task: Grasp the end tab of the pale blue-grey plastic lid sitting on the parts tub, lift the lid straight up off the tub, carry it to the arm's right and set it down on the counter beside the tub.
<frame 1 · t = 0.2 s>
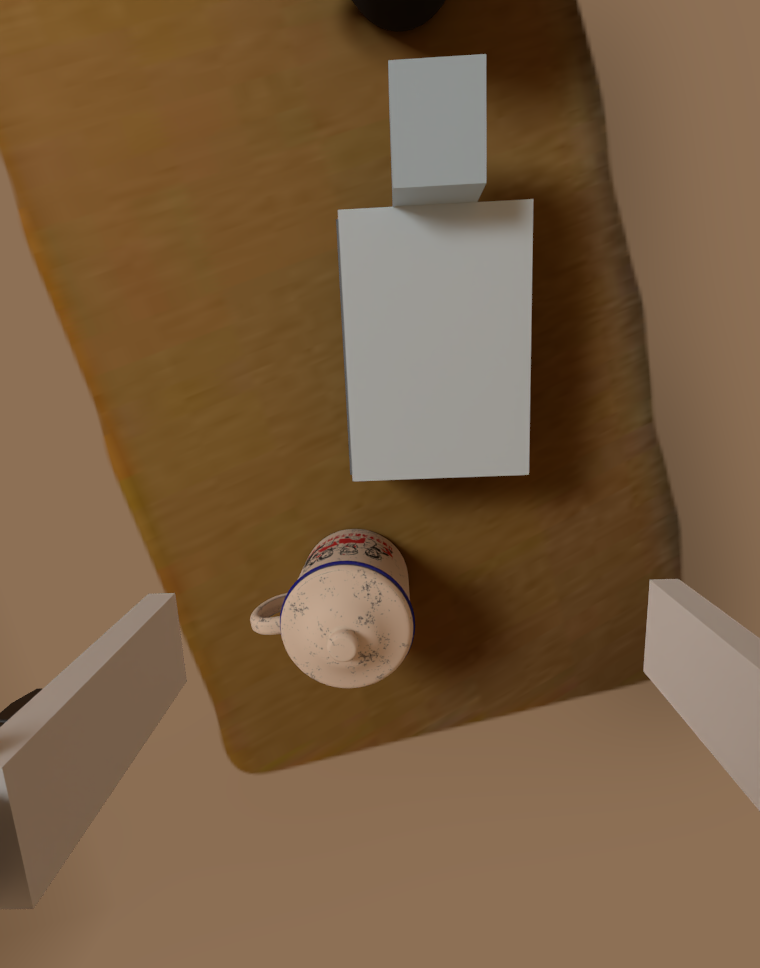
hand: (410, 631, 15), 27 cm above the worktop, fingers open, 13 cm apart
teacup with lid: (339, 578, 44), on the worktop
lid: (436, 348, 34), point 6 cm above the worktop, touching tub
tub: (430, 352, 39), on the worktop
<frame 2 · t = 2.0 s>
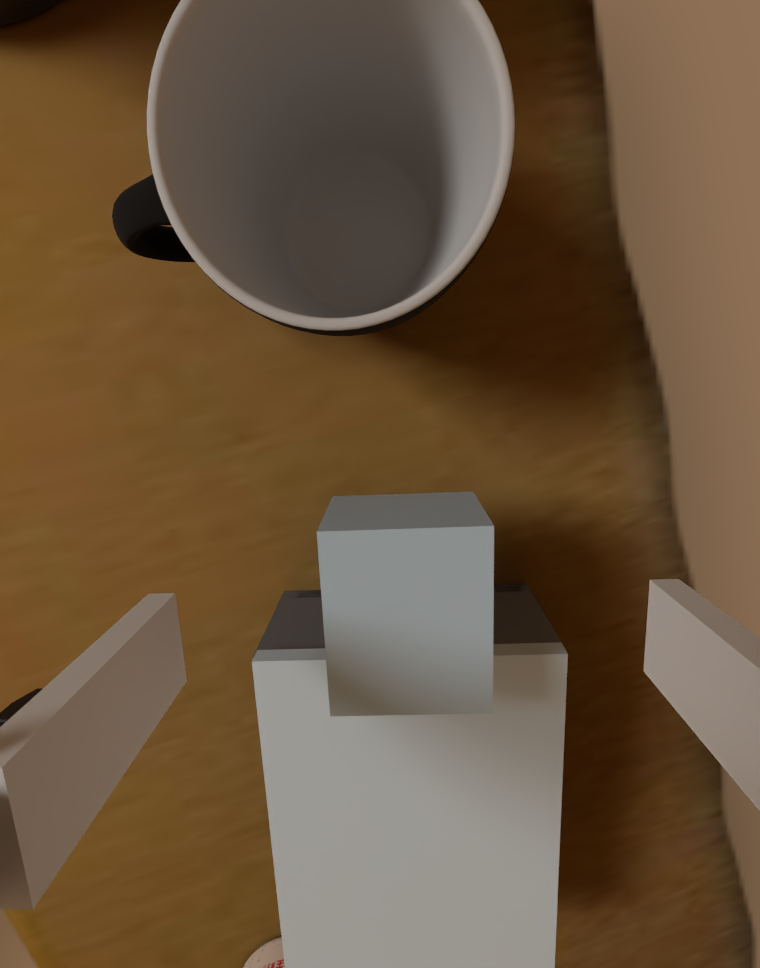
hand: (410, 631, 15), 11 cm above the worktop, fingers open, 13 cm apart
lid: (413, 825, 22), point 6 cm above the worktop, touching tub
mug: (323, 243, 23), on the worktop
tub: (409, 728, 28), on the worktop
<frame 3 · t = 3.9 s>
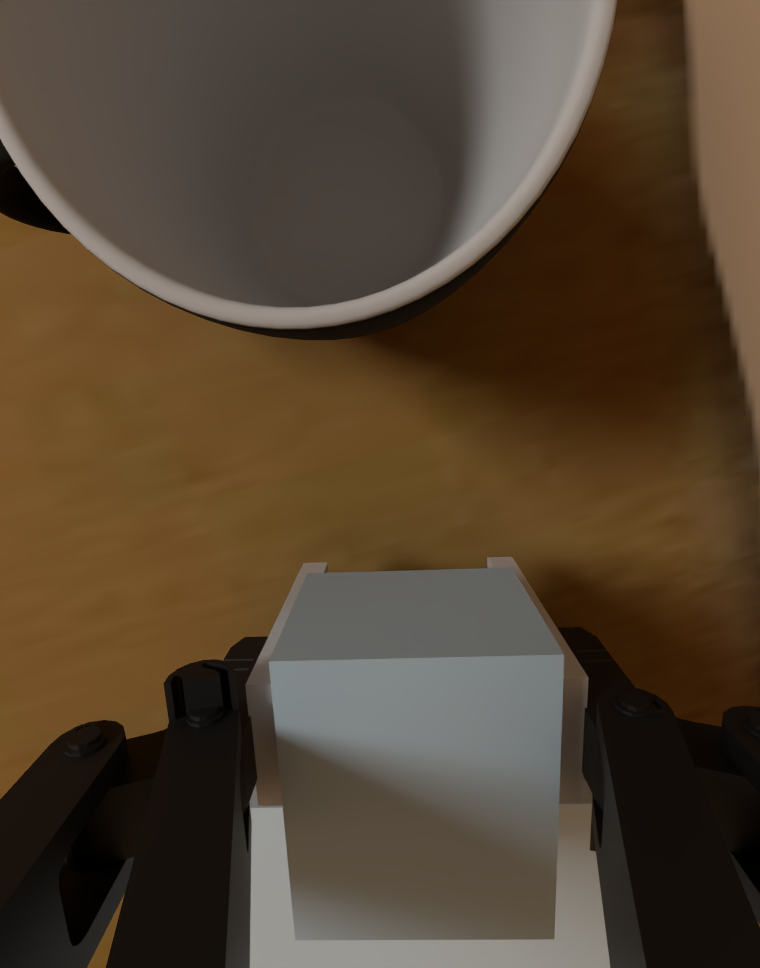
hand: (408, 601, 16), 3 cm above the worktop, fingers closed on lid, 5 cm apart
mug: (302, 219, 17), on the worktop
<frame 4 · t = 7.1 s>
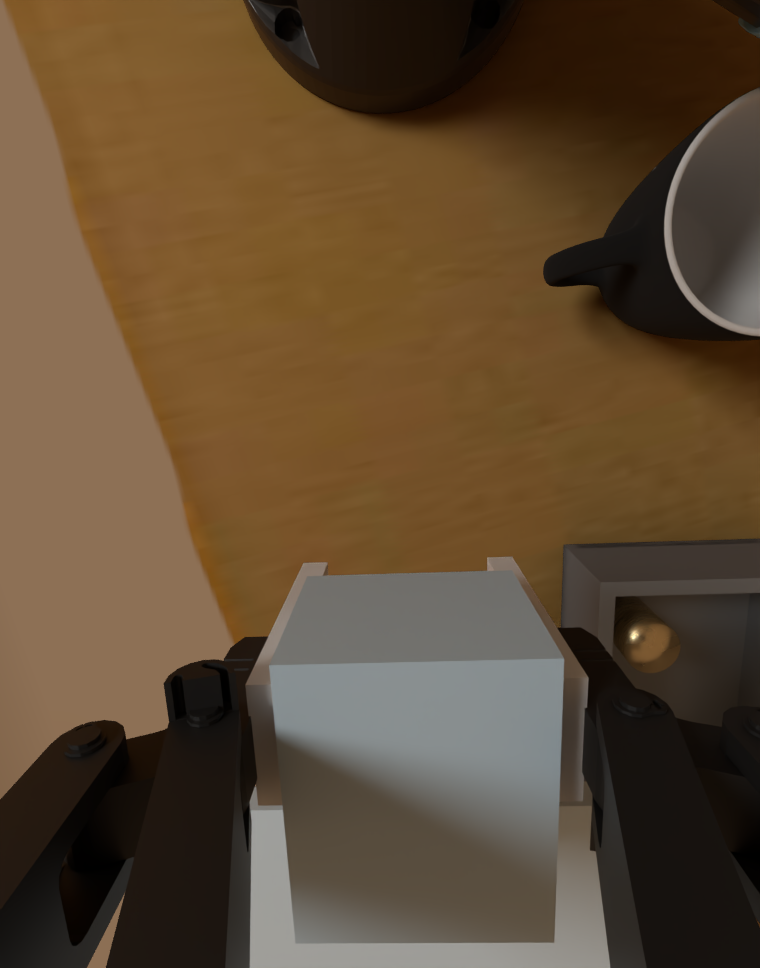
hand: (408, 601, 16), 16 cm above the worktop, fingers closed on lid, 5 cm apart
mug: (625, 271, 30), on the worktop
part a: (621, 615, 33), point 1 cm above the worktop, touching tub
tub: (652, 658, 34), on the worktop
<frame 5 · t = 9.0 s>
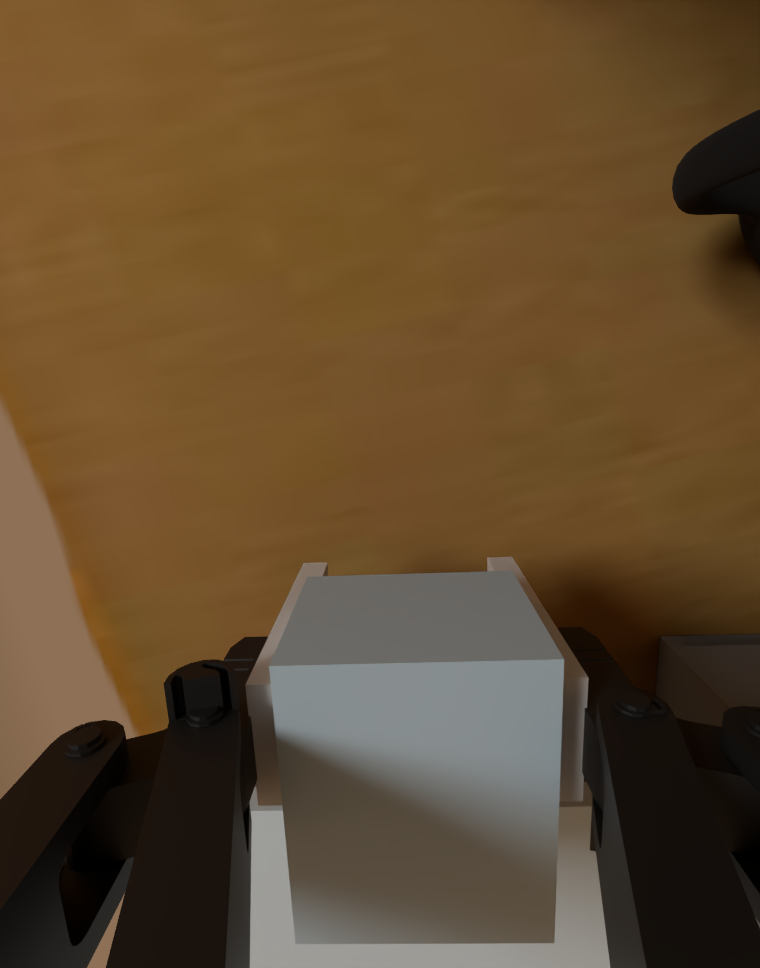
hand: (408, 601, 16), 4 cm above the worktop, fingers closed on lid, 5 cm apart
when the fingers open (2 cm above the worktop, at t = 10.3 s): lid drops 4 cm, on the worktop.
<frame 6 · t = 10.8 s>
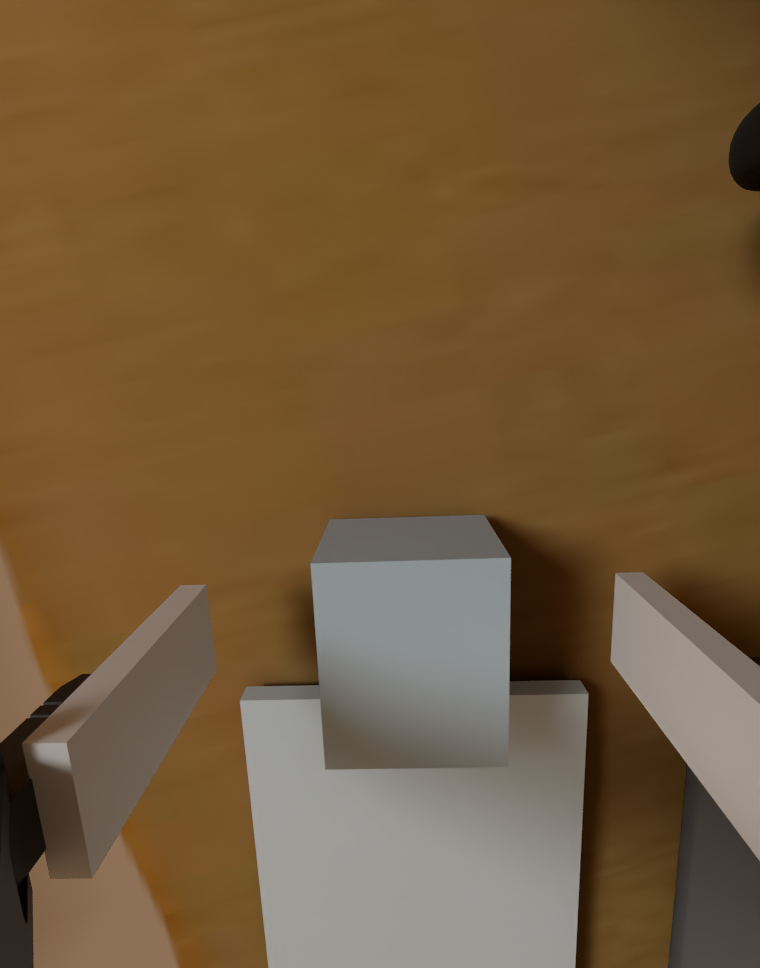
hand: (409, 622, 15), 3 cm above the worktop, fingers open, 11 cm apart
lid: (417, 878, 20), on the worktop
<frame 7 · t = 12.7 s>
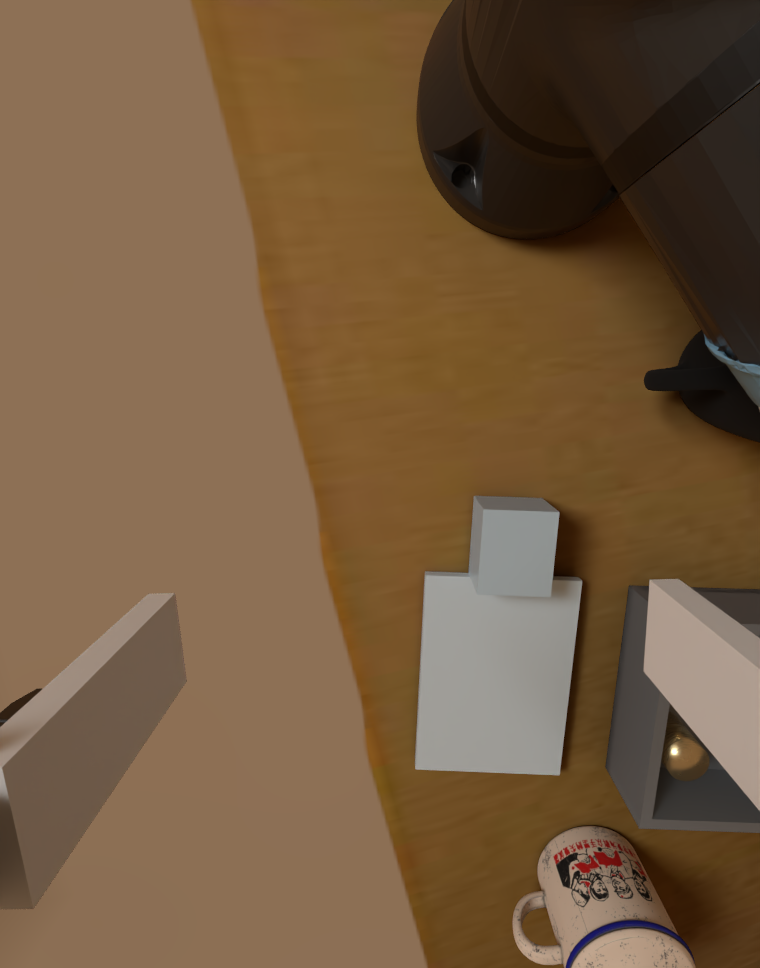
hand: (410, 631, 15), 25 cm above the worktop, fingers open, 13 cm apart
teacup with lid: (568, 864, 46), on the worktop
part b: (660, 726, 42), point 1 cm above the worktop, touching tub
lid: (493, 673, 41), on the worktop
mug: (697, 373, 37), on the worktop
tub: (692, 682, 42), on the worktop
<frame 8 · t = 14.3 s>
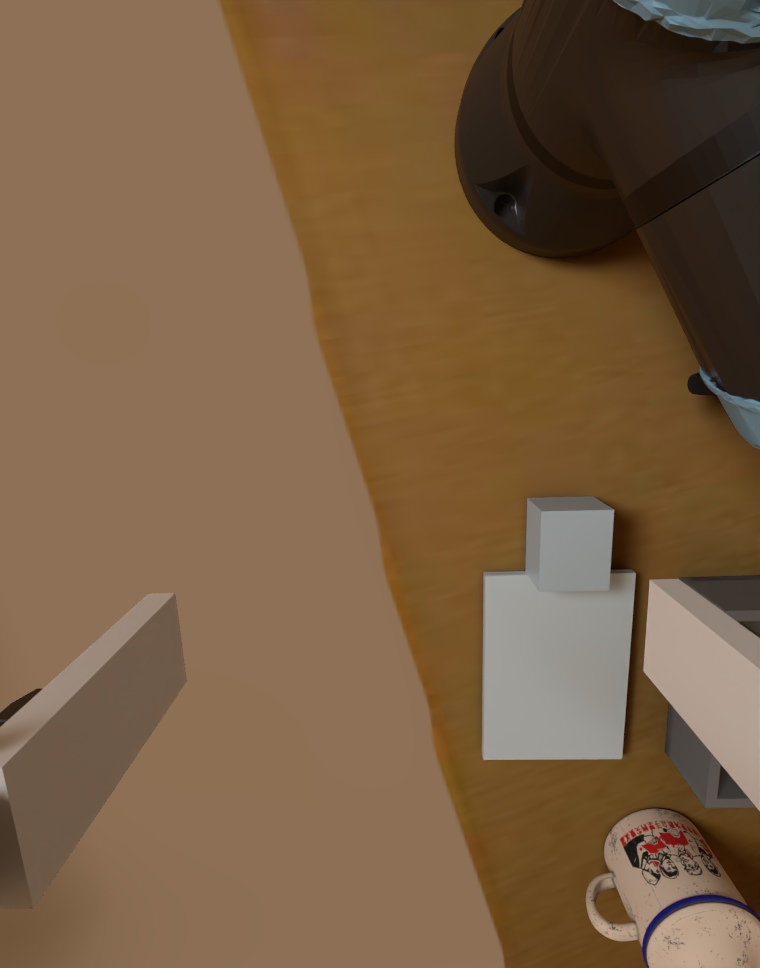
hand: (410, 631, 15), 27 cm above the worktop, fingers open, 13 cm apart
teacup with lid: (633, 845, 48), on the worktop
lid: (553, 665, 43), on the worktop
mug: (735, 371, 39), on the worktop
tub: (745, 666, 43), on the worktop
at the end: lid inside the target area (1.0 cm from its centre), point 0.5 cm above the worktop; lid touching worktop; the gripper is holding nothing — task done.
